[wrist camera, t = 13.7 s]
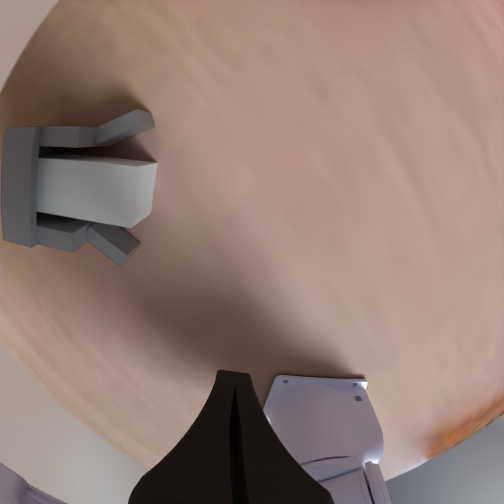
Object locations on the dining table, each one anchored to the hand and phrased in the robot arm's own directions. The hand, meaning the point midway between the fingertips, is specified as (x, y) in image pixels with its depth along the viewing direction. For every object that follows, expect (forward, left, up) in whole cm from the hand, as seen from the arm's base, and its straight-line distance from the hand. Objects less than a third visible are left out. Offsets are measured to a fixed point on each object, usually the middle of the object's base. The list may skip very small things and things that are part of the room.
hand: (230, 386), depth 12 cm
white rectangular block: (+11, -6, -10) cm, 16 cm away
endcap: (+13, -6, -10) cm, 17 cm away
